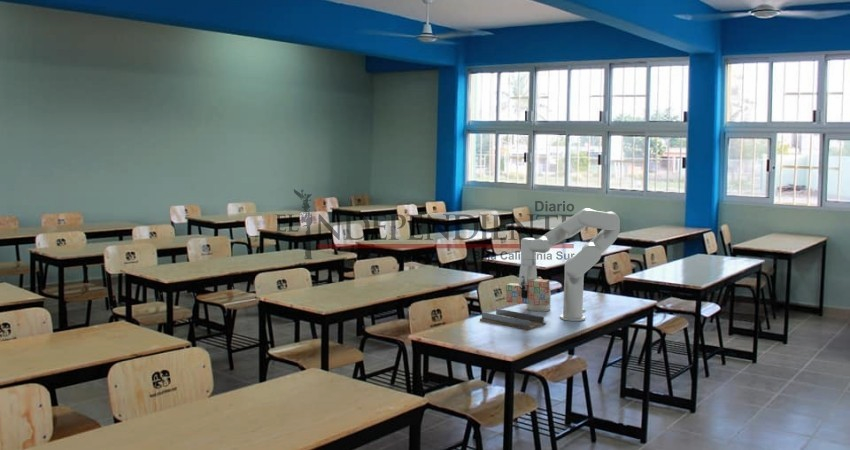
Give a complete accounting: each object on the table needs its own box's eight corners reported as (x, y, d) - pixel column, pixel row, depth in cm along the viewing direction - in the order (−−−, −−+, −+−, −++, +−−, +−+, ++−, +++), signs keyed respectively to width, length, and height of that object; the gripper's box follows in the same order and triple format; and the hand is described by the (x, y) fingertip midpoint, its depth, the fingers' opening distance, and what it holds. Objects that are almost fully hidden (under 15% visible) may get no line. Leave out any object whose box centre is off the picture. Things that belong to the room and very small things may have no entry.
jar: (551, 307, 410) (552, 275, 408) (549, 312, 397) (550, 279, 396) (527, 306, 413) (528, 274, 411) (524, 310, 400) (525, 277, 399)
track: (498, 315, 387) (499, 308, 386) (545, 324, 368) (545, 316, 368) (479, 320, 375) (480, 312, 374) (527, 330, 356) (527, 321, 356)
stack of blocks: (506, 302, 390) (505, 278, 389) (510, 300, 395) (510, 277, 394) (545, 305, 379) (545, 281, 378) (549, 303, 384) (549, 279, 383)
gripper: (531, 259, 394) (532, 293, 395) (512, 263, 381) (512, 298, 382) (544, 260, 389) (544, 294, 390) (525, 264, 376) (525, 300, 378)
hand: (528, 296), depth 386 cm, fingers closed on stack of blocks, 7 cm apart
